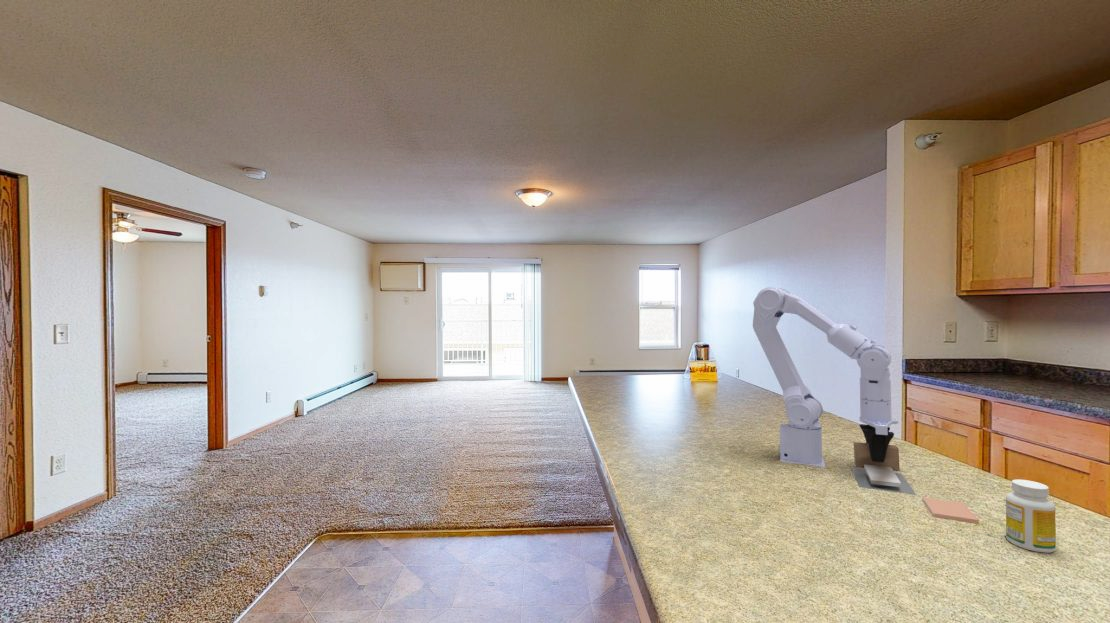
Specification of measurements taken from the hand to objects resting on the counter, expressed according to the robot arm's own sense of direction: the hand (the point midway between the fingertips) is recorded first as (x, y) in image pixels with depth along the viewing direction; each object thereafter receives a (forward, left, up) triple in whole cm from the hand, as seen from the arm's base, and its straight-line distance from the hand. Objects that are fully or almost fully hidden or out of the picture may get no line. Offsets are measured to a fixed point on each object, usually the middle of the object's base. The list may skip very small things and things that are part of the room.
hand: (876, 459), depth 101 cm
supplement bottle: (+16, -26, -4) cm, 31 cm away
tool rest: (0, -5, -3) cm, 6 cm away
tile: (+8, -14, -3) cm, 17 cm away
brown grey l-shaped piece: (0, -4, -2) cm, 4 cm away
